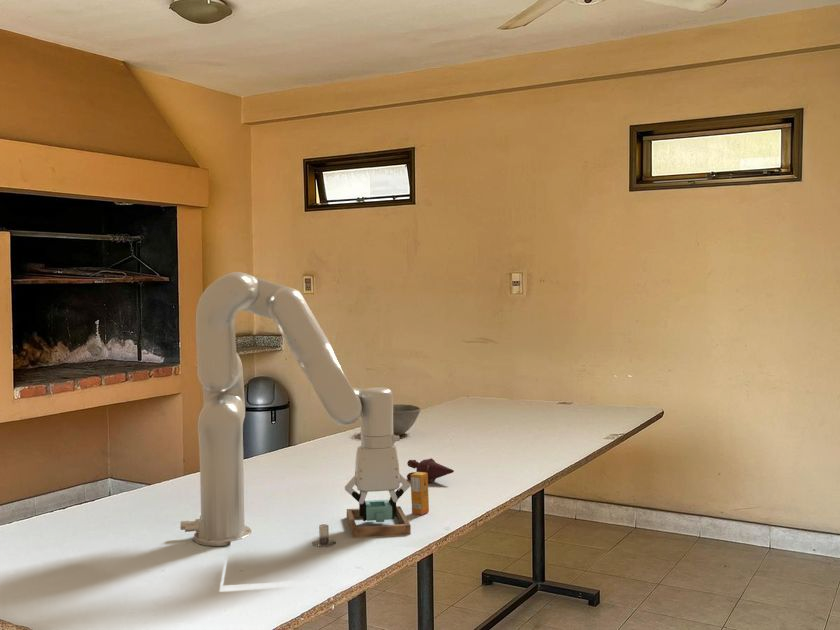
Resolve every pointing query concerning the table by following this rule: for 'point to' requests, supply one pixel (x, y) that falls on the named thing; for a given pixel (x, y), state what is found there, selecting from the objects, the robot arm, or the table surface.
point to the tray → (378, 530)
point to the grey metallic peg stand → (323, 537)
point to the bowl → (404, 417)
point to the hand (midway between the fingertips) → (377, 517)
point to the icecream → (429, 469)
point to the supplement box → (419, 493)
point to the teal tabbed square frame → (378, 510)
